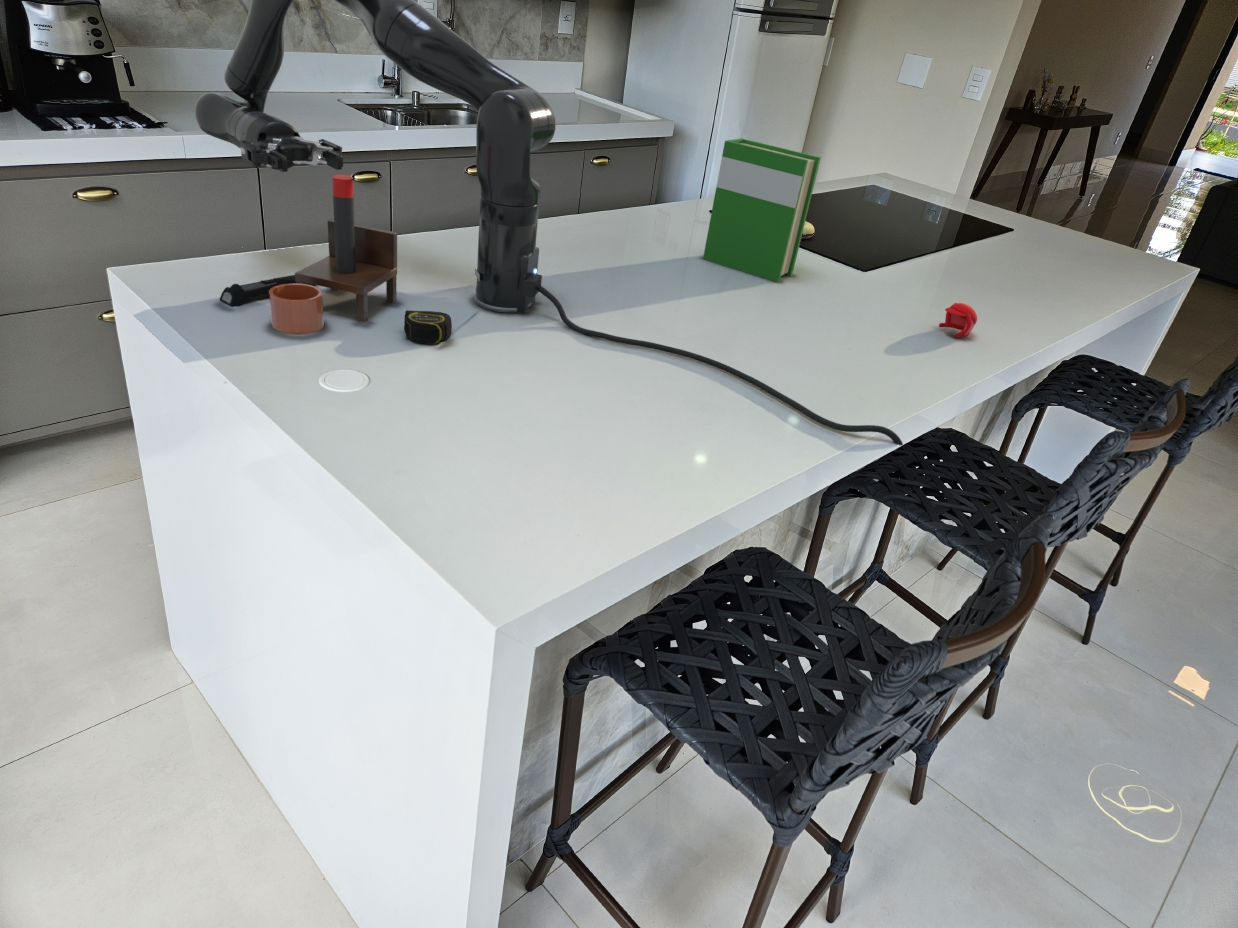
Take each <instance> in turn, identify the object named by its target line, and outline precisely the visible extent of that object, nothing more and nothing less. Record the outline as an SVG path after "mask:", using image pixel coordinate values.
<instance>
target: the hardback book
mask: <svg viewBox="0 0 1238 928" xmlns="http://www.w3.org/2000/svg"><path fill="white" fill-rule="evenodd" d="M821 159H822V157H821V156H817V155H813V154H808V153H804V152H801V151H797V150H792V149H787V148H783V147H780V146H775V145H772V144H771V145H770V144H767V143H763V142H759V141H755V140H750V139H746V138H741V137H740V138H734V139H728V140H724V143H723V148H722V154H721V160H720V165H719V171H718V176H717V181H716V187H715V193H714V198H713V202H712V203H713V204H712V209H711V214H710V219H709V225H708V230H707V234H706V235H707V236H706V241H705V246H704V250H703V257H702V259H703V260H706V261H710V262H712V263H716V264H718V265H722V266H725V267H728V268H732V269H734V270H738V271H741V272H745V273H746V274H751V275H754V276H756V277H760V278H763V279H766V280H770V281H772V282H774V283H775V282H776V283H779V282H780V281H781V278H782V276H783V275H785V276H789V277H792V276H793V274H794V269H795V266H796V261H797V257H798V253H799V249H800V245H801V241H802V239H801V237H802V233H803V229H804V225H805V221H806V220H807V216H808V212H809V208H810V204H811V200H812V195H813V191H814V188H815V183H816V180H817V179H816V178H817V175H818V171H819V167H820V163H821Z"/></svg>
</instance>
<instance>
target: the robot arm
mask: <svg viewBox="0 0 1238 928" xmlns="http://www.w3.org/2000/svg"><path fill="white" fill-rule="evenodd" d="M293 2H294V0H251V1H250V5H249V6H250V7H249V9H248V13H247V16H246V20H245V22H244V27H243V29H242V31H241V34H240V37H239V39H238V41H237V44H236V46H235V48H234V50H233V52H232V54H231V56H230V58H229V61H228V63H227V65H226V68H225V71H224V74H223V80H224V83H225V85H226V86H227V87H228V89H229V90H230V91H231V92H233V93H234V94H235V95H237V96H238V97H240V98H241V99H243V100H240V99H236V98H234V97H230V96H227V95H225V94H223V93H220V92H214V91H209V92H206V93H203V94H202V95H201V96H199V98H198V99H197V100H196V102H195V105H194V118H195V121H196V124H197V126H198V127H199V128H200V130H201V131H202V132H204V134H206V135H208V136H211V137H213V138H216V139H219V140H221V141H224V142H227V143H230V144H232V145H234V146H236V147H237V148H238V149H240V155H241V156H240V157H241V159H242V160H243V161H245V162H247V163H248V164H250V165H251V166H252V167H255V168H259V167H262V164H263V165H264V166H265V167H267V168H270V169H273V170H276V171H280V172H281V173H288V171H289V169H290V168H292V167H294V166H295V165H302V164H305V165H309V166H315V167H316V166H318V165H321V164H323V165H327V166H329V167H330V168H332V169H333V170H336V171H339V170H340V171H341V170H343V167H344V157H343V146H340V145H338V144H336V143H334V142H331V141H329V140H326V139H324V138H321V139H318V141H315V140H310V139H305V138H304V137H301V135H300V133H299V132H298V130H297V129H296V128H295V127H294V126H293V125H291V124H290V123H288V122H286V121H284V120H282V119H280V118H278V117H276V116H274V115H271V114H270V113H266V112H265V109H266V108H265V107H266V103H267V99H268V98H267V97H268V94H269V92H270V89H271V87H272V85H273V83H274V82H275V80H276V78H277V75H278V73H279V72H280V70H281V67H282V64H283V61H284V55H285V34H284V30H285V29H284V28H285V27H284V26H285V19H286V16H287V14H288V11H289V9H290V7H291V5H292V3H293ZM334 2H336V3H338V4H339V5H341V6H342V7H344V8H345V9H346V10H348V11H349V12H351V13H352V14H353V15H354V16H355V17H356V18H358V19H359V20H360V22H361V23H362V24H363V26H364V28H365V30H366V31H367V33H368V35H369V37H370V39H371V41H372V43H374V45H375V46H376V47H377V49H378V50H379V52H380V53H382V54H383V55H384V56H385V57H386V58H387V59H389V60H390V61H392V63H393V64H395V65H397V66H398V67H399V68H400V69H401V70H403V71H404V72H405V73H406V74H407V75H409V76H410V77H412V78H414V79H415V80H417V81H419V82H421V83H423V84H425V85H427V86H429V87H431V88H434V89H435V90H438V91H440V92H443V93H445V94H447V95H450V96H452V97H455V98H457V99H459V100H461V101H463V102H465V103H468V104H469V105H470V106H472V107H473V108H474V109H476V110H477V111H478V113H477V118H476V129H475V130H476V131H475V150H476V151H475V159H476V161H475V163H476V164H475V170H476V176H477V180H478V183H479V186H480V197H479V198H480V200H479V218H478V219H479V220H478V221H479V222H478V240H477V241H478V243H477V263H476V267H474V275H475V277H476V282H475V283H476V286H475V295H474V301H475V303H476V304H477V305H478V306H479V307H481V308H483V309H486V310H490V311H493V312H498V313H519V314H525V313H526V312H527V311H528V310H529V309H530V308H531V307H532V306H533V305H534V304H535V302H536V296H537V294H538V293H540V294H542V295H543V296H544V297H545V298H546V299H548V300H549V301H550V302H551V304H552V305H554V307H555V308H556V310H557V312H558V315H559V317H560V319H561V321H562V323H564V324H565V326H567V327H568V328H569V329H571V330H572V331H575V332H577V333H579V334H582V335H584V336H589V337H594V338H597V339H603V340H606V341H610V342H613V343H614V342H615V343H619V344H623V345H624V344H625V345H630V346H636V347H640V348H641V347H642V348H647V349H652V350H655V351H656V350H657V351H661V352H665V353H670V354H673V355H677V356H681V357H685V358H688V359H690V360H694V361H697V362H701V363H704V364H706V365H709V366H712V367H715V368H717V369H718V370H719V369H720V370H722V371H724V372H727V373H729V374H730V375H733V376H735V377H737V378H739V379H741V380H743V381H745V382H747V383H749V384H751V385H754V386H755V387H757V388H758V389H760V390H762V391H764V392H765V393H767V394H769V395H771V396H772V397H774V398H776V399H778V400H779V401H781V402H783V403H784V404H786V405H788V406H790V407H791V408H793V409H795V410H797V411H798V412H799V413H801V414H803V415H804V416H806V417H807V418H809V419H811V420H813V421H814V422H816V423H818V424H820V425H822V426H824V427H827V428H830V429H833V430H836V431H839V432H845V433H879V434H882V435H885V436H886V437H888V438H889V439H890V440H892V441H893V443H894V444H895V445H898V446H903V445H904V443H903V441H902V439H901V437H899V435H898V433H896V432H895V431H893V430H892V429H890V428H888V427H885V426H883V425H882V426H881V425H874V424H864V425H863V424H861V425H857V424H856V425H855V424H854V425H851V424H843V423H838V422H835V421H832V420H830V419H827V418H825V417H823V416H821V415H819V414H817V413H815V412H813V411H812V410H811V409H809V408H807V407H806V406H804V405H803V404H801V403H799V402H797V401H796V400H794V399H793V398H790V397H788V396H787V395H786V394H783V393H782V392H780V391H778V390H776V389H774V388H773V387H772V386H770V385H768V384H766V383H764V382H762V381H761V380H758V379H757V378H755V377H753V376H750V375H749V374H747V373H744V372H743V371H740V370H739V369H736V368H734V367H731V366H730V365H727V364H725V363H723V362H720V361H718V360H715V359H712V358H709V357H707V356H703V355H701V354H698V353H694V352H692V351H689V350H685V349H680V348H678V347H677V348H676V347H673V346H668V345H664V344H661V343H656V342H651V341H646V340H640V339H634V338H628V337H623V336H617V335H614V334H609V333H605V332H601V331H597V330H592V329H587V328H583V327H581V326H579V325H578V324H576V323H574V322H573V321H571V320H570V319H569V318H568V316H567V315H566V312H565V309H564V307H563V305H562V303H561V302H560V301H559V300H558V298H556V296H555V295H554V294H552V293H551V292H550V291H549V290H547V289H546V288H545V287H543V286H542V279H543V275H542V274H538V270H539V269H538V268H539V257H540V248H539V247H538V246H537V236H538V235H537V234H538V224H539V211H540V199H541V186H540V183H539V182H538V181H537V180H535V179H534V178H532V176H531V153H533V152H536V151H539V150H541V149H543V148H545V147H546V146H547V145H548V144H549V143H551V141H552V139H553V138H554V136H555V132H556V126H557V125H556V124H557V123H556V117H555V113H554V111H553V108H552V106H551V104H550V103H549V101H548V100H547V99H546V98H545V97H544V96H543V95H542V94H541V93H540V92H539V91H538V90H536V89H535V88H533V87H531V86H529V85H528V84H527V83H525V82H523V81H521V80H520V79H518V78H516V77H514V76H513V75H512V74H510V73H508V72H507V71H505V70H504V69H502V68H500V67H499V66H498V65H496V64H494V63H493V62H492V61H490V60H489V59H488V58H487V57H485V56H484V55H483V54H482V53H481V52H479V51H478V50H477V49H476V48H475V47H473V46H472V45H471V44H470V43H469V42H467V41H466V40H465V39H464V38H463V37H461V36H460V35H458V34H457V33H456V32H455V31H454V30H452V29H451V28H450V27H449V26H447V25H446V24H445V23H444V22H443V21H441V20H440V19H439V18H438V17H437V16H436V15H434V14H433V13H432V12H430V11H429V9H427V8H425V7H424V6H423V5H422V4H420V3H419V2H417V1H416V0H334ZM311 157H312V159H311Z"/></svg>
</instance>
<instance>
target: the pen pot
mask: <svg viewBox="0 0 1238 928" xmlns="http://www.w3.org/2000/svg"><path fill="white" fill-rule="evenodd" d="M268 299H269V312H270V324H271V327H272V329H274V330H276V331H277V332H280V333H282V334H289V335H308V334H313V333H316V332H319V331H321V330H322V329H323V328H324V325H325V317H324V299H323V290H322V289H321V288H319V287H317V286H312V285H307V284H296V283H291V284H282V285H278V286H275V287H273V288H271V289H270V290H269V298H268Z"/></svg>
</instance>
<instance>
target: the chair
mask: <svg viewBox="0 0 1238 928" xmlns="http://www.w3.org/2000/svg"><path fill="white" fill-rule="evenodd" d="M354 234H355V268H356V271H355V272H353V273H340V272H338V271H337V270H336V253H335V229H334V218H331V219H329V220H327V240H328V241H327V242H328V256H326V257H324V258H322V259H319V260H317V261H316V262H314V263H312V264H310V265H308V266H305V267H304V268H302V269H300V270H298V271H296V272H294V275H295V281H296V284H307V285H308V283H309V284H313V285H316V286H318V287H323V288H328V289H330V290H332V291H337V292H338V291H343V292H345V293H352V294H355V299H356V301H355V302H356V321H357V322H360V323H366V322H367V321H368V320H369V311H368V310H369V307H368V293H370V292H371V291H373V290H375V289H376V288H378V287H380V286H381V285H383V284H384V283H385V286H386V291H385V292H386V293H385V294H386V295H385V296H386V297H385V298H386V302H388V303H395V302H397V276H398V232H397V231H391V230H387V229H382V228H377V227H373V226H372V227H371V226H366V225H361V224H357V223H354Z"/></svg>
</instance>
